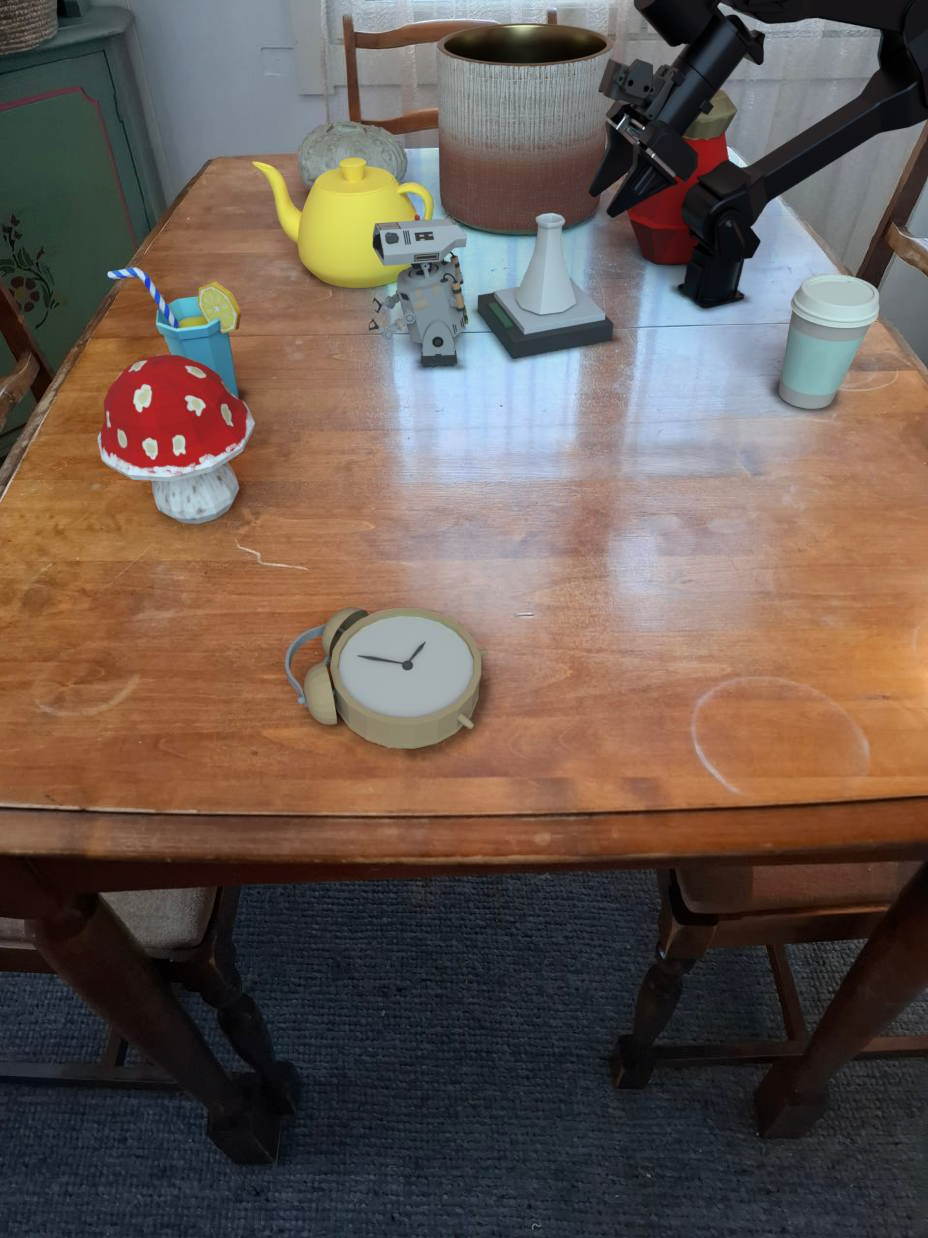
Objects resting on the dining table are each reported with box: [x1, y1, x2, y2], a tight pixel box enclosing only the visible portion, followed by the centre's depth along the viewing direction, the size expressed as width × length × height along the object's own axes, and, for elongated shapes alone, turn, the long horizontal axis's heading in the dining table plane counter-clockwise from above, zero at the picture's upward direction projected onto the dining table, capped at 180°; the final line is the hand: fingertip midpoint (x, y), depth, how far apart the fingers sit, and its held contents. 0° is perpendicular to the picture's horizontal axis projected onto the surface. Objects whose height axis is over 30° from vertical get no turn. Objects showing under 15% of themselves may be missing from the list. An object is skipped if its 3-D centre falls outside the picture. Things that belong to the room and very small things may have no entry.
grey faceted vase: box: [515, 213, 576, 315], centre depth 95 cm, size 7×7×10 cm
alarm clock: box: [284, 606, 489, 750], centre depth 61 cm, size 11×5×15 cm
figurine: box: [368, 214, 469, 368], centre depth 92 cm, size 9×12×15 cm
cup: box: [107, 266, 242, 399], centre depth 85 cm, size 14×8×15 cm, turn 80°
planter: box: [435, 22, 615, 236], centre depth 120 cm, size 25×25×22 cm
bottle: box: [626, 88, 739, 267], centre depth 108 cm, size 16×14×20 cm
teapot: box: [251, 157, 435, 289], centre depth 109 cm, size 25×18×14 cm
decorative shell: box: [296, 119, 409, 192], centre depth 130 cm, size 18×18×10 cm
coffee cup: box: [778, 273, 880, 410], centre depth 85 cm, size 8×8×12 cm
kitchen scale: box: [477, 277, 614, 360], centre depth 100 cm, size 13×13×3 cm
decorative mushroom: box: [97, 354, 256, 525], centre depth 72 cm, size 14×14×15 cm
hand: (599, 204), depth 94 cm, fingers open, 9 cm apart
